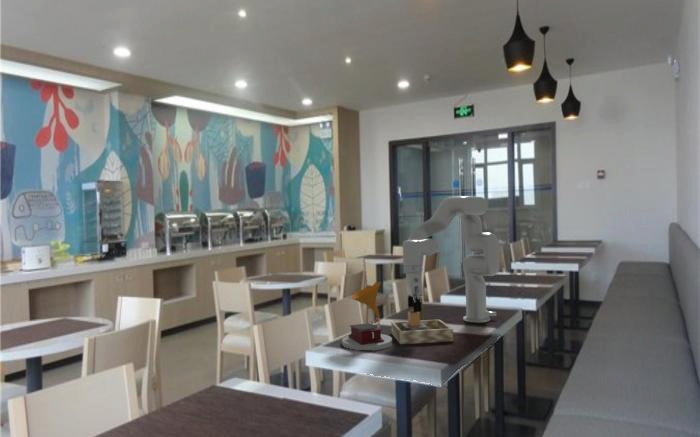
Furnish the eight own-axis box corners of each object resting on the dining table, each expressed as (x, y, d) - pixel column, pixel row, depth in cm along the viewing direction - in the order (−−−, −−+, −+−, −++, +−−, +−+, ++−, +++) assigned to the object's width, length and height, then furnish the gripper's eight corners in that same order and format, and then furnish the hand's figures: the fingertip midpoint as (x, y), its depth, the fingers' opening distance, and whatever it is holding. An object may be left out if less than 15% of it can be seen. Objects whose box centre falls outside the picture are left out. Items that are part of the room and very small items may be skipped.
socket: (421, 332, 211) (421, 322, 211) (427, 337, 202) (427, 326, 202) (401, 333, 210) (401, 323, 210) (406, 338, 201) (406, 328, 201)
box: (440, 330, 217) (439, 319, 217) (453, 341, 199) (452, 328, 199) (391, 333, 214) (391, 322, 214) (400, 344, 197) (400, 331, 196)
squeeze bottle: (424, 321, 236) (422, 284, 235) (424, 325, 228) (423, 287, 227) (407, 321, 236) (406, 284, 236) (407, 325, 228) (406, 287, 228)
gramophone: (379, 335, 212) (377, 278, 212) (401, 346, 193) (399, 284, 193) (335, 341, 205) (333, 281, 205) (353, 353, 186) (351, 288, 186)
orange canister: (417, 334, 209) (416, 308, 208) (420, 336, 205) (419, 310, 204) (408, 334, 208) (407, 309, 208) (410, 337, 204) (410, 311, 204)
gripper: (426, 271, 198) (428, 312, 199) (416, 265, 215) (418, 304, 216) (408, 272, 197) (410, 314, 198) (399, 267, 214) (401, 305, 215)
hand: (414, 309), depth 207 cm, fingers open, 9 cm apart
